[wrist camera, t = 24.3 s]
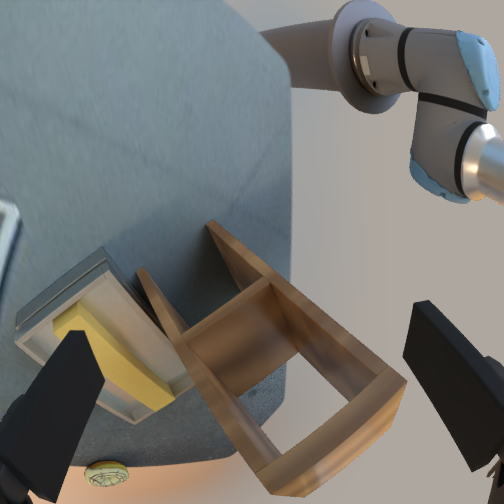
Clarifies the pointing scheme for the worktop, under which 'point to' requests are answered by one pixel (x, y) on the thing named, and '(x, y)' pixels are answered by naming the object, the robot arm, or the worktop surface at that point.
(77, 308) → the block
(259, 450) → the shelf
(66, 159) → the worktop surface
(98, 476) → the decorated donut
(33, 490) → the robot arm
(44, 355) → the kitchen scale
